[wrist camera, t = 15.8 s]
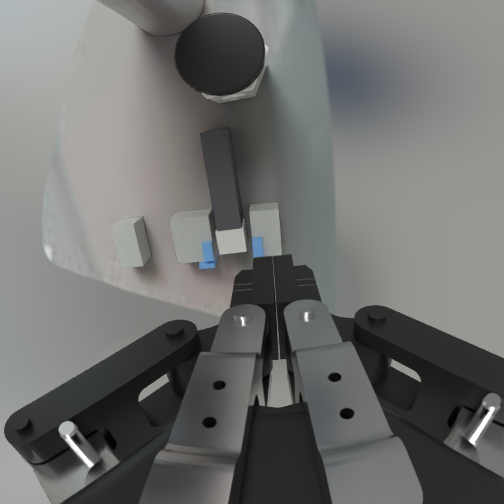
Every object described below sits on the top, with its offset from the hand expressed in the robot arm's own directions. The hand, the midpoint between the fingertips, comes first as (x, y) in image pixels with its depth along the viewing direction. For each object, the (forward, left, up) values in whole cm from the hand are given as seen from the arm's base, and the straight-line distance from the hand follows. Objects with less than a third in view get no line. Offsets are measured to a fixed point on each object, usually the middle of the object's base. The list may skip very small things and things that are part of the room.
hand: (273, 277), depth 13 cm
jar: (-13, -3, -29) cm, 32 cm away
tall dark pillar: (+2, -5, -29) cm, 30 cm away
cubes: (+8, -10, -29) cm, 32 cm away
